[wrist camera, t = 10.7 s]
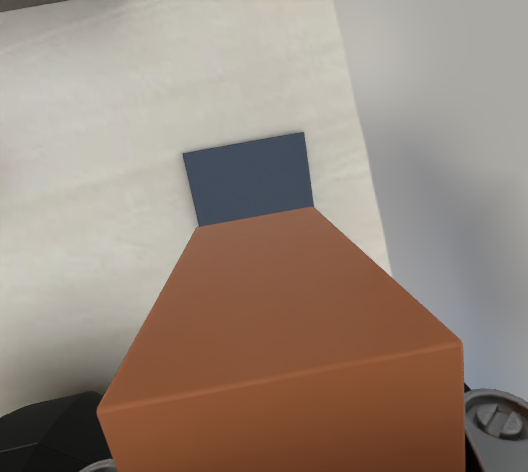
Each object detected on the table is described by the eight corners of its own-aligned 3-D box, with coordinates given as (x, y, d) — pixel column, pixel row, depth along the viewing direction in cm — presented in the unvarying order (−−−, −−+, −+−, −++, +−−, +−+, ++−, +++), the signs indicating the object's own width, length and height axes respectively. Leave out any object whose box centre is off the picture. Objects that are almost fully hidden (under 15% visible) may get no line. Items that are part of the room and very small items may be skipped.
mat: (302, 132, 28) (303, 131, 28) (320, 266, 32) (322, 268, 31) (183, 153, 28) (182, 153, 28) (213, 285, 32) (213, 288, 31)
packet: (195, 227, 13) (92, 411, 4) (313, 205, 13) (466, 340, 4) (232, 385, 14) (217, 747, 6) (335, 366, 15) (471, 696, 6)
